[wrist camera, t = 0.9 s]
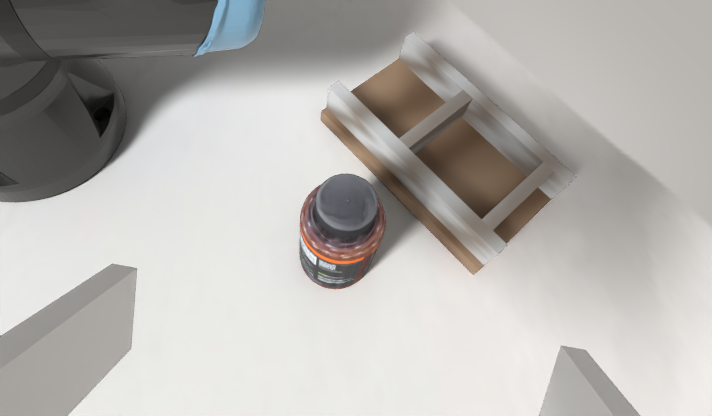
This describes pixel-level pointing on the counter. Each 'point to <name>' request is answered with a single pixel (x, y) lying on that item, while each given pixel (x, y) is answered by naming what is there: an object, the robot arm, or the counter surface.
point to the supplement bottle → (340, 231)
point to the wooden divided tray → (446, 152)
